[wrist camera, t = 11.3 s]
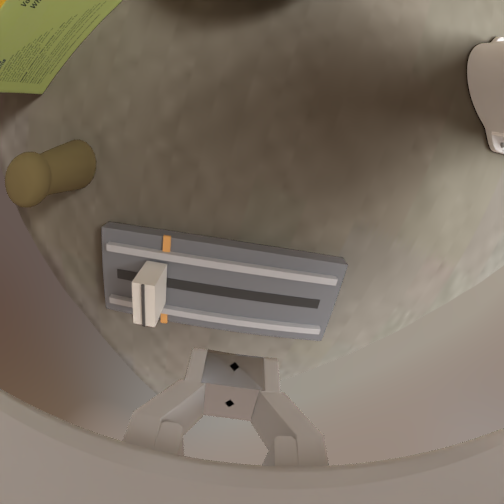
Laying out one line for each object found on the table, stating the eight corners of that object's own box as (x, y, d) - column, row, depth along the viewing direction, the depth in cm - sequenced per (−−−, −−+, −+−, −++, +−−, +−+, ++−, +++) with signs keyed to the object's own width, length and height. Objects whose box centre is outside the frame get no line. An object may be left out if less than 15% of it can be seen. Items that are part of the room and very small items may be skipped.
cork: (61, 136, 28) (-1, 146, 18) (100, 144, 29) (43, 155, 18) (53, 183, 30) (-5, 208, 20) (91, 194, 31) (37, 223, 21)
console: (342, 257, 34) (350, 268, 32) (318, 331, 38) (322, 344, 36) (108, 221, 32) (98, 229, 30) (111, 300, 36) (103, 311, 34)
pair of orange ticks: (171, 235, 31) (170, 236, 31) (167, 322, 35) (166, 323, 35) (164, 234, 31) (163, 235, 30) (161, 321, 35) (160, 322, 35)
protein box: (125, -2, 22) (58, -58, 7) (42, 96, 26) (-50, 97, 11) (84, -30, 19) (20, -74, 4) (10, 58, 22) (-70, 52, 8)
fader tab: (167, 263, 32) (154, 287, 27) (165, 301, 34) (154, 328, 29) (146, 260, 32) (131, 283, 27) (146, 298, 34) (132, 324, 29)
